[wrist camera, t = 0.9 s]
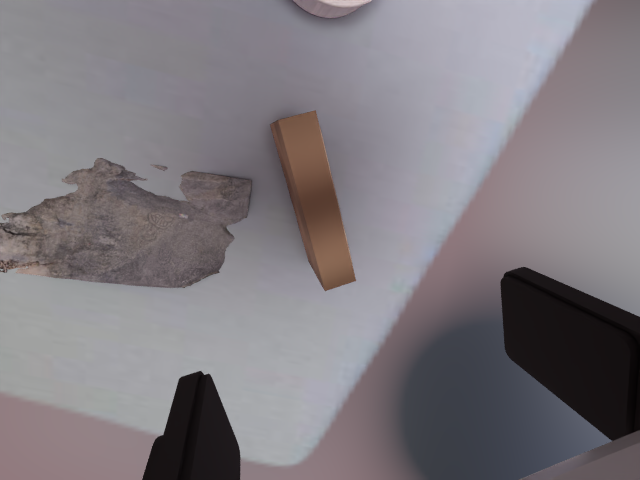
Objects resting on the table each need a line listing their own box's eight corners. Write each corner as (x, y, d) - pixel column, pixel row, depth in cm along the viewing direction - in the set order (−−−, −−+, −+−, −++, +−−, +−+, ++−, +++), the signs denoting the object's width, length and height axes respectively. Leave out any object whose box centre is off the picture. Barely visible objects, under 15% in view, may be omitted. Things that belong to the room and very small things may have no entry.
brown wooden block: (270, 124, 27) (278, 120, 21) (301, 116, 27) (318, 109, 21) (308, 261, 31) (324, 291, 25) (335, 252, 31) (358, 279, 25)
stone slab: (252, 174, 27) (240, 294, 29) (252, 173, 28) (241, 287, 30) (-25, 138, 23) (-17, 280, 25) (-5, 140, 24) (1, 273, 26)
